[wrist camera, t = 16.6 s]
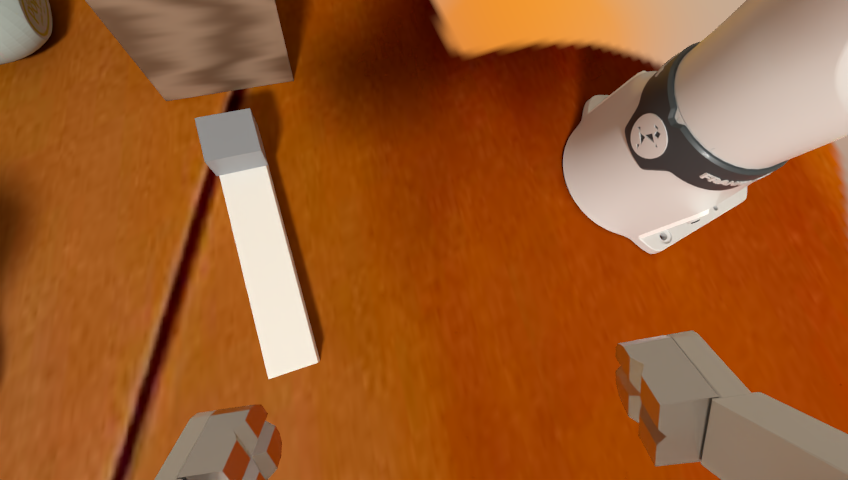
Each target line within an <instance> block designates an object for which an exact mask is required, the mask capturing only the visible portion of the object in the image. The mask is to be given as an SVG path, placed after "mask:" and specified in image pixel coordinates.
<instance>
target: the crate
mask: <svg viewBox="0 0 848 480" xmlns="http://www.w3.org/2000/svg"><path fill="white" fill-rule="evenodd" d="M85 1H86V2H87V3H88V4H89V6H90V7H91V8H92V9H93V11H94V12H95V13H96V14H97V16H98V17H99V18H100V19H101V21H102V22H103V23H104V24H105V26H106V27H107V28H108V29H109V31H110V32H111V33H112V34H113V35H114V37H115V38H116V39H117V40H118V42H119V43H120V44H121V45H122V47H123V48H124V49H125V50H126V52H127V53H128V54H129V55H130V57H131V58H132V59H133V60H134V62H135V63H136V64H137V65H138V67H139V68H140V69H141V70H142V72H143V73H144V74H145V75H146V77H147V78H148V79H149V80H150V82H151V83H152V84H153V85H154V87H155V88H156V89H157V90H158V91H159V93H160V94H161V95H162V96H163V98H164V99H165V100H166V101H170V100H176V99H183V98H189V97H195V96H201V95H207V94H214V93H220V92H226V91H232V90H239V89H245V88H251V87H257V86H264V85H270V84H276V83H282V82H288V81H294V79H293V75H292V71H291V67H290V63H289V58H288V54H287V50H286V46H285V42H284V37H283V33H282V29H281V25H280V21H279V16H278V12H277V8H276V4H275V0H85Z"/></svg>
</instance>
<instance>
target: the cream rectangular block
mask: <svg viewBox="0 0 848 480" xmlns="http://www.w3.org/2000/svg"><path fill="white" fill-rule="evenodd" d="M195 122H196V126H197V130H198V135H199V139H200V143H201V147H202V152H203V156H204V160H205V163H206V164H207V165H208V166H209V167H210V169H211V170H212V171H213V172H214V173H215V174H216V176H220V180H221V184H222V188H223V192H224V197H225V201H226V205H227V209H228V213H229V217H230V222H231V226H232V230H233V234H234V238H235V242H236V246H237V251H238V255H239V259H240V263H241V267H242V271H243V275H244V280H245V284H246V288H247V292H248V296H249V300H250V305H251V309H252V313H253V317H254V321H255V325H256V329H257V334H258V338H259V342H260V346H261V350H262V354H263V358H264V363H265V367H266V371H267V375H268V379H271V378H274V377H277V376H280V375H283V374H285V373H288V372H291V371H294V370H297V369H300V368H303V367H306V366H309V365H312V364H315V363H318V362H319V361H320V358H319V355H318V351H317V347H316V343H315V340H314V336H313V332H312V328H311V324H310V321H309V317H308V313H307V309H306V306H305V302H304V298H303V294H302V290H301V287H300V283H299V279H298V275H297V272H296V268H295V264H294V260H293V256H292V253H291V249H290V245H289V241H288V238H287V234H286V230H285V226H284V222H283V219H282V215H281V211H280V207H279V204H278V200H277V196H276V192H275V189H274V185H273V181H272V177H271V173H270V170H269V166H268V162H267V158H266V154H265V150H264V147H263V143H262V139H261V135H260V132H259V128H258V125H257V123H256V120H255V118H254V116H253V114H252V112H251V109H250V108H248V109H242V110H237V111H231V112H226V113H220V114H215V115H209V116H204V117H198V118H195Z"/></svg>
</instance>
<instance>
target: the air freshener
mask: <svg viewBox="0 0 848 480" xmlns="http://www.w3.org/2000/svg"><path fill="white" fill-rule="evenodd" d="M51 32H52V13H51V8H50V4H49V1H48V0H0V64H5V63H9V62H14V61H17V60H19V59H22V58H24V57H26V56H28V55H30V54H32V53H34V52H35V51H36V50H38V49H39V48H40V47H41V46H42V45H43V44H44V43H45V42H46V41H47V40H48V38H49V37H50V35H51Z"/></svg>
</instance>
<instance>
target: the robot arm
mask: <svg viewBox="0 0 848 480" xmlns="http://www.w3.org/2000/svg"><path fill="white" fill-rule="evenodd" d="M846 136H848V0H746V1H745V2H744V3H743V4H742V5H741V6H740V7H739V8H738V9H737V10H736V11H735V12H734V13H733V14H732V15H731V16H730V17H728V18H727V19H726V20H725V21H724V22H723V23H722V24H721V25H720V26H718V27H717V28H716V29H715V30H714V31H713V32H712V33H711V34H710V35H708V36H707V37H706V38H705V39H704V40H702V41H701V42H698V43H695V44H693V45H691V46H689V47H687V48H686V49H684V50H683V51H682V52H680V53H678V54H677V55H675V56H674V57H672V58H671V59H670V60H669V61H667V62H666V63H665V64H664V65H663V66H662V67H661V68H660V69H659V71H649V72H646V71H641V72H639V73H637V74H636V75H635V76H633V77H632V78H631V79H629V80H628V81H627V82H626V83H624V84H623V85H622V86H621V87H619V88H618V89H617V90H616V91H614V92H613V93H612V94H611V95H595V96H593V97H592V98H590V99H589V100H588V101H587V102H586V103H585V106H584V109H583V114H582V120H581V122H580V123H579V125H578V126H577V127H576V129H575V130H574V131H573V132H572V134H571V135H570V137H569V139H568V141H567V143H566V146H565V150H564V155H563V171H564V177H565V181H566V184H567V187H568V189H569V192H570V194H571V196H572V197H573V199H574V201H575V202H576V204H577V205H578V206H579V208H580V209H581V210H582V211H583V212H584V213H585V214H586V215H587V216H588V217H589V218H590V219H591V220H592V221H594V222H595V223H596V224H598V225H599V226H601V227H603V228H605V229H607V230H609V231H611V232H614V233H617V234H620V235H623V236H625V237H627V238H629V239H631V240H632V241H633V242H634V243H635V244H636V245H638V246H639V247H640V248H641V249H643V250H644V251H646V252H647V253H650V254H655V253H658V252H660V251H662V250H664V249H666V248H667V247H669V246H671V245H672V244H674V243H676V242H677V241H679V240H681V239H682V238H684V237H685V236H687V235H689V234H690V233H692V232H694V231H695V230H697V229H699V228H700V227H702V226H704V225H705V224H707V223H709V222H710V221H712V220H713V219H715V218H717V217H718V216H720V215H722V214H723V213H725V212H727V211H728V210H730V209H732V208H733V207H735V206H737V205H738V204H740V203H741V202H743V201H744V200H745V199H746V197H747V186H748V185H750V184H751V183H753V182H754V181H756V180H758V179H761V178H763V177H765V176H767V175H769V174H770V173H772V172H773V171H775V170H777V169H778V168H780V167H781V166H783V165H784V164H785V163H786V162H787V161H788V160H789V159H791V158H794V157H796V156H799V155H801V154H804V153H806V152H809V151H811V150H814V149H816V148H819V147H821V146H824V145H826V144H828V143H831V142H833V141H836V140H838V139H841V138H843V137H846ZM660 235H661V237H662V239H661V238H660ZM616 358H617V360H618V362H619V363H620V365H621V366H620V367H619V368H618V369H617V370H616V385H617V389H618V393H619V397H620V399H621V402H622V404H623V406H624V408H625V410H626V412H627V414H628V416H629V417H631V418H632V419H634V420H635V421H637V422H638V423H639V437H640V439H641V441H642V443H643V445H644V446H645V448H646V450H647V452H648V454H649V456H650V458H651V460H652V461H653V463H654V465H655V466H662V465H672V464H681V463H690V462H699V461H701V464H702V465H703V466H704V467H706V468H707V469H708V470H710V471H711V472H712V473H713V474H715V475H716V476H717V477H719V478H720V479H721V480H848V434H846V433H844V432H842V431H840V430H838V429H835V428H833V427H831V426H829V425H827V424H825V423H823V422H821V421H819V420H817V419H815V418H813V417H811V416H809V415H807V414H804V413H802V412H800V411H798V410H796V409H794V408H792V407H790V406H788V405H786V404H784V403H782V402H780V401H778V400H776V399H773V398H771V397H769V396H767V395H765V394H763V393H761V392H755V393H751V392H750V391H749V390H748V389H747V388H746V386H745V385H744V384H743V383H742V382H741V381H740V380H739V379H738V378H737V376H736V375H735V374H734V373H733V372H732V371H731V370H730V369H729V368H728V366H727V365H726V364H725V363H724V362H723V361H722V360H721V359H720V358H719V356H718V355H717V354H716V353H715V352H714V351H713V350H712V349H711V348H710V346H709V345H708V344H707V343H706V342H705V341H704V340H703V339H702V338H701V336H700V335H699V334H698V333H696V332H694V331H686V332H681V333H675V334H669V335H666V336H665V335H662V336H657V337H651V338H646V339H640V340H634V341H629V342H623V343H618V344H617V346H616ZM267 414H268V413H267V412H266V411H265V409H264V408H263V406H262V405H249V406H242V407H235V408H227V409H220V410H215V411H208V412H201V413H197V414H196V415H194V416H193V417H192V418H190V420H189V422H188V423H187V425H186V427H185V429H184V430H183V432H182V434H181V435H180V437H179V439H178V440H177V442H176V444H175V446H174V447H173V449H172V451H171V452H170V454H169V456H168V457H167V459H166V461H165V463H164V464H163V466H162V468H161V469H160V471H159V473H158V474H157V476H156V478H155V480H268V478H269V477H270V476H271V475H272V474H273V473H274V472H275V470H276V469H277V468H278V465H279V461H280V458H281V449H282V441H281V437H280V433H279V431H278V430H277V428H276V426H274V425H272V424H271V423H269V422H267V421H265V420H266V417H267Z"/></svg>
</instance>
